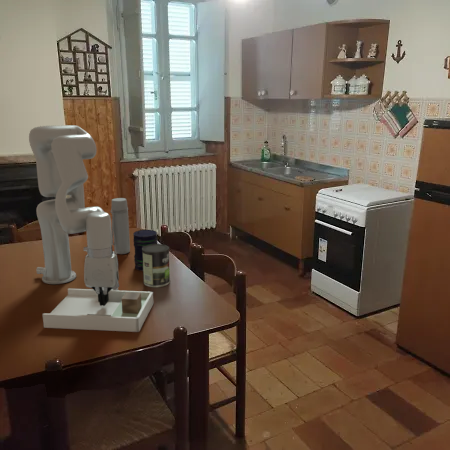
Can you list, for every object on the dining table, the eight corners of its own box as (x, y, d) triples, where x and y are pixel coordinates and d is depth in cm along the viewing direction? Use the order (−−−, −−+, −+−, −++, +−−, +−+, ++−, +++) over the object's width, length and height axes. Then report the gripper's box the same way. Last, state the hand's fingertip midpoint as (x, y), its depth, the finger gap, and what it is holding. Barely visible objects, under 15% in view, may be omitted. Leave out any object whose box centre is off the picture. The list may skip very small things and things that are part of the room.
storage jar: (160, 263, 193) (159, 230, 189) (155, 271, 184) (153, 236, 180) (138, 262, 194) (136, 229, 190) (131, 270, 185) (129, 236, 181)
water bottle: (122, 248, 211) (119, 197, 204) (134, 251, 207) (131, 199, 200) (107, 253, 204) (103, 200, 197) (118, 257, 200) (115, 203, 193)
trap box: (44, 327, 138) (42, 314, 137) (69, 300, 157) (68, 288, 156) (138, 331, 136) (138, 318, 135) (153, 303, 155) (153, 291, 154)
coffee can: (173, 278, 177) (172, 244, 173) (165, 288, 167) (164, 253, 163) (149, 276, 179) (147, 242, 175) (139, 286, 169) (137, 251, 165)
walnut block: (122, 313, 143) (121, 298, 141) (126, 306, 147) (126, 292, 146) (137, 313, 142) (136, 299, 141) (141, 306, 147) (141, 292, 146)
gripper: (72, 254, 137) (77, 308, 143) (120, 256, 136) (122, 310, 142) (81, 246, 145) (85, 297, 150) (126, 248, 144) (129, 299, 149)
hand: (103, 303), depth 146 cm, fingers closed
